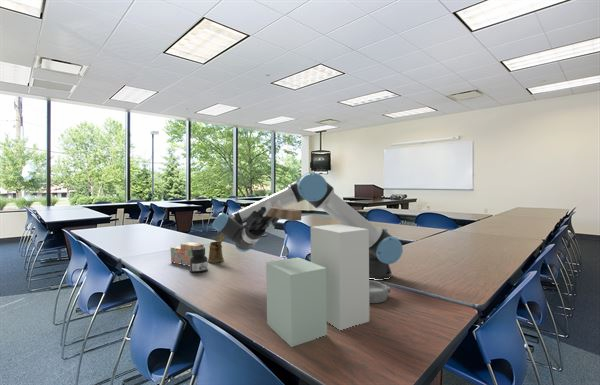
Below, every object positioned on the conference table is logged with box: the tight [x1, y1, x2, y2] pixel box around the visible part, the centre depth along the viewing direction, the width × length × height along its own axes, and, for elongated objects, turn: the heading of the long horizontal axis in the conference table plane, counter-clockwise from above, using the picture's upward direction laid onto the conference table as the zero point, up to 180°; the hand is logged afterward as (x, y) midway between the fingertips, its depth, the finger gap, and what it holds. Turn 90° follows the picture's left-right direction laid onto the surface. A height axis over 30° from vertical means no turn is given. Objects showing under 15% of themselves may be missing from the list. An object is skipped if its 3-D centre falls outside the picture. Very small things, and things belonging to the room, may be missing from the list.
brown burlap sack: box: [207, 233, 226, 264], centre depth 175 cm, size 9×14×18 cm, turn 41°
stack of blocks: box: [170, 241, 204, 266], centre depth 172 cm, size 21×6×12 cm, turn 59°
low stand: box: [265, 257, 328, 348], centre depth 92 cm, size 16×12×20 cm
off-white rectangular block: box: [310, 223, 370, 331], centre depth 100 cm, size 16×12×30 cm
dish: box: [369, 280, 392, 304], centre depth 118 cm, size 14×14×5 cm
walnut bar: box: [261, 206, 302, 222], centre depth 99 cm, size 24×3×3 cm, turn 30°
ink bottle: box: [189, 247, 209, 274], centre depth 158 cm, size 10×9×12 cm
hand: (275, 204), depth 101 cm, fingers closed on walnut bar, 3 cm apart
